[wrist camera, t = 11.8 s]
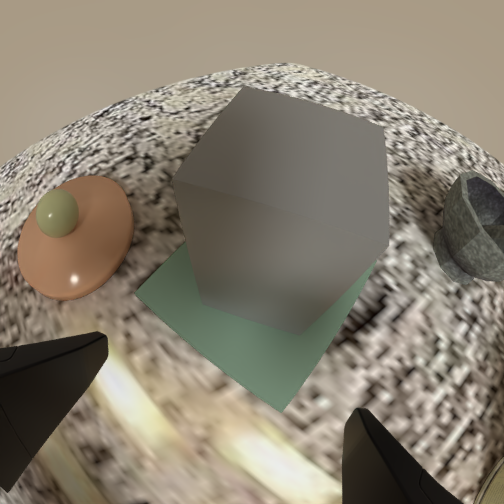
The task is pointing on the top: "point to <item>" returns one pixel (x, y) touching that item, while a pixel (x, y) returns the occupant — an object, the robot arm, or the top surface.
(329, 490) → the top surface
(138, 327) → the top surface
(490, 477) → the coffee can
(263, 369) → the mat
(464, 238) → the mortar and pestle
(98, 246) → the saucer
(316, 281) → the grey tall block
